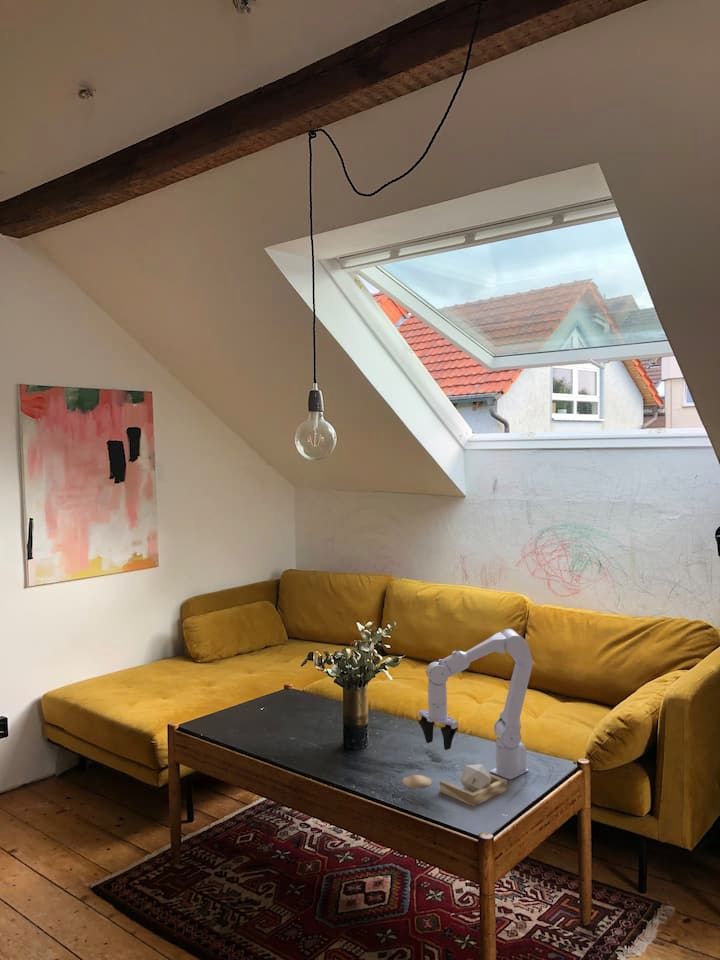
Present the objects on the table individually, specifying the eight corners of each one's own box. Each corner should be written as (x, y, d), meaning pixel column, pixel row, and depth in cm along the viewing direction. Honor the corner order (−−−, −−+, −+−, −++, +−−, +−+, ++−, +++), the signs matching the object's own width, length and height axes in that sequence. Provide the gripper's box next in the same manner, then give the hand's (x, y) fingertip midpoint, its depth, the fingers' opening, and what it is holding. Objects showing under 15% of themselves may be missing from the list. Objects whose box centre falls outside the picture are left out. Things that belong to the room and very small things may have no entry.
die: (454, 792, 230) (459, 775, 224) (466, 770, 236) (471, 752, 230) (480, 806, 228) (485, 789, 222) (491, 783, 234) (496, 765, 227)
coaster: (416, 774, 243) (416, 772, 243) (437, 783, 237) (437, 781, 237) (396, 782, 238) (396, 781, 238) (417, 792, 231) (417, 790, 231)
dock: (473, 776, 240) (473, 767, 240) (507, 790, 230) (506, 780, 230) (439, 791, 230) (439, 781, 230) (473, 806, 220) (473, 795, 220)
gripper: (411, 699, 242) (412, 742, 243) (446, 710, 231) (447, 755, 232) (427, 694, 247) (428, 736, 248) (462, 705, 236) (462, 749, 237)
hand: (438, 745), depth 240 cm, fingers open, 7 cm apart
